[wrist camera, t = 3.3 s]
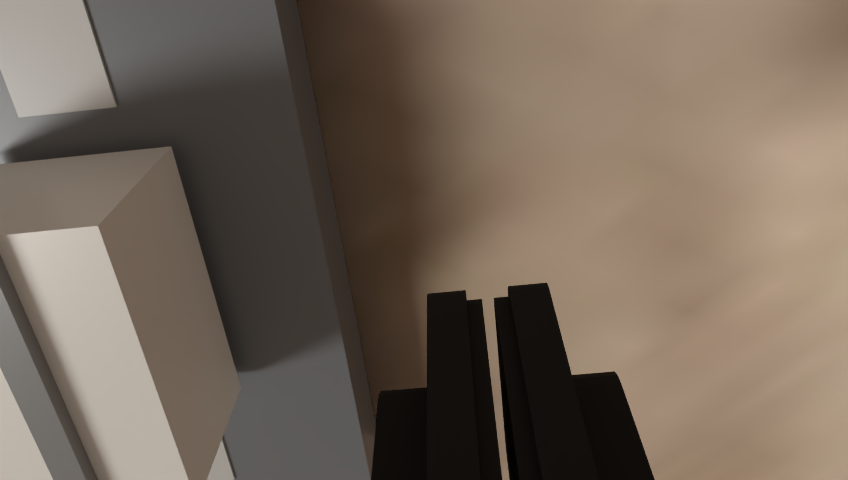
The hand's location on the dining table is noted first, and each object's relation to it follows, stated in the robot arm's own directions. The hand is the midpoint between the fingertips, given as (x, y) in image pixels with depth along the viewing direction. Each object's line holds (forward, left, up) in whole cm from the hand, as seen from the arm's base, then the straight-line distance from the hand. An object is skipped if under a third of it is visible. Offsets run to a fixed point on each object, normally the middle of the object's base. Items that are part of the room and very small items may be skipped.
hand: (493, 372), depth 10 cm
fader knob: (+8, +1, -5) cm, 9 cm away
